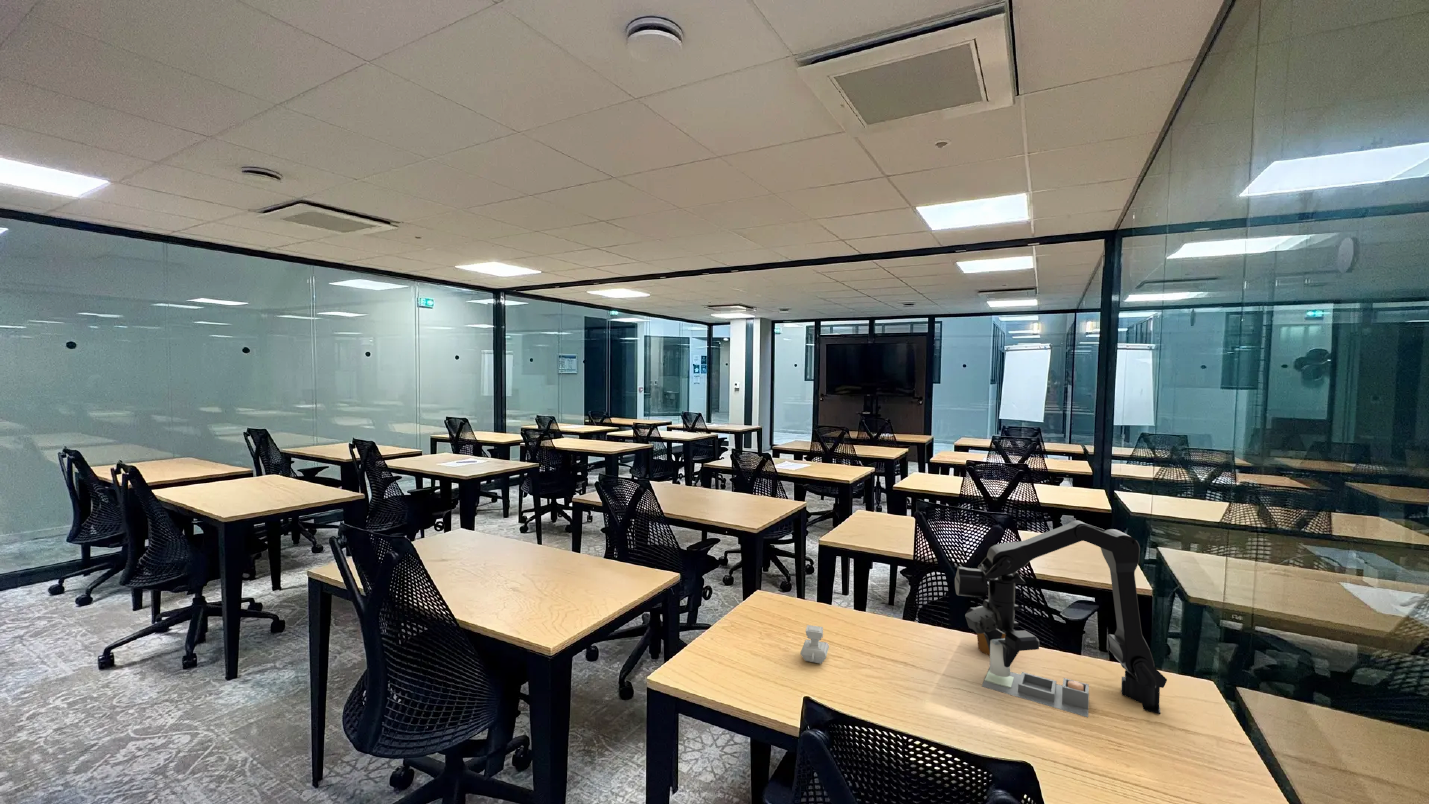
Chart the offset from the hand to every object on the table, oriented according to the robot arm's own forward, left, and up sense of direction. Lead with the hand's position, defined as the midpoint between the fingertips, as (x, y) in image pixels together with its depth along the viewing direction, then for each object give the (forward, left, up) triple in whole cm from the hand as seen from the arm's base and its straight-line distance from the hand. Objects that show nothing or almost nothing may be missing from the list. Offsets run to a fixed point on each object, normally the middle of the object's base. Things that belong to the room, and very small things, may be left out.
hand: (1000, 662), depth 134 cm
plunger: (-15, 0, -4) cm, 16 cm away
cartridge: (0, 0, -2) cm, 3 cm away
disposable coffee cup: (+4, -16, -6) cm, 18 cm away
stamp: (+42, +15, -6) cm, 45 cm away
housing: (-7, 0, -6) cm, 9 cm away
